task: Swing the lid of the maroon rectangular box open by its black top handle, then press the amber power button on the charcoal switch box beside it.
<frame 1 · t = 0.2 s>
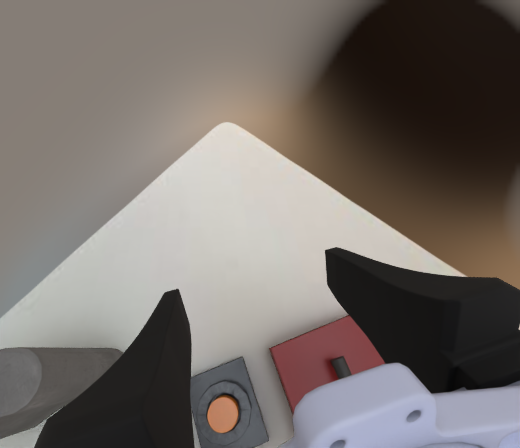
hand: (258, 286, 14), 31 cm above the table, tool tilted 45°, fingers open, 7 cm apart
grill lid: (347, 378, 34), point 6 cm above the table, hinge at 0.0°
switch box: (226, 407, 38), on the table
power button: (223, 413, 35), point 3 cm above the table, slide at 0.1 cm
flask: (71, 383, 39), on the table
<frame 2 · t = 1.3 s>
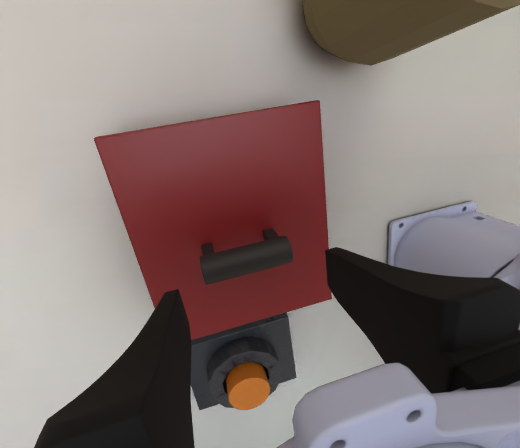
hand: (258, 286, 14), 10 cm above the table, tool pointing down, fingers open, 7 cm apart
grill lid: (241, 243, 17), point 6 cm above the table, hinge at 0.0°
squeeze bottle: (340, 7, 20), on the table
switch box: (240, 355, 29), on the table
power button: (247, 385, 25), point 3 cm above the table, slide at 0.1 cm
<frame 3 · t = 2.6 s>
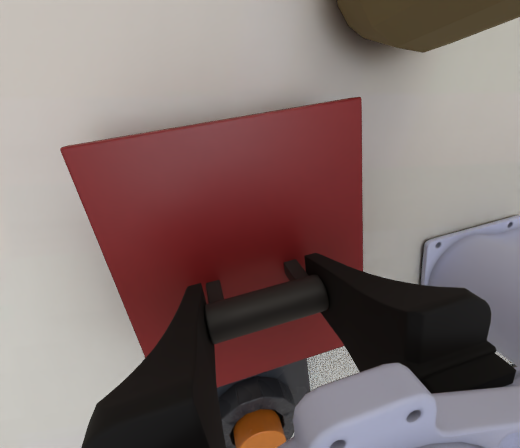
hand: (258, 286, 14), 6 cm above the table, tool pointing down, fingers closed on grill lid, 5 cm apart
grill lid: (257, 283, 13), point 6 cm above the table, hinge at 0.0°, touching gripper
switch box: (249, 394, 25), on the table
power button: (259, 436, 21), point 3 cm above the table, slide at 0.1 cm
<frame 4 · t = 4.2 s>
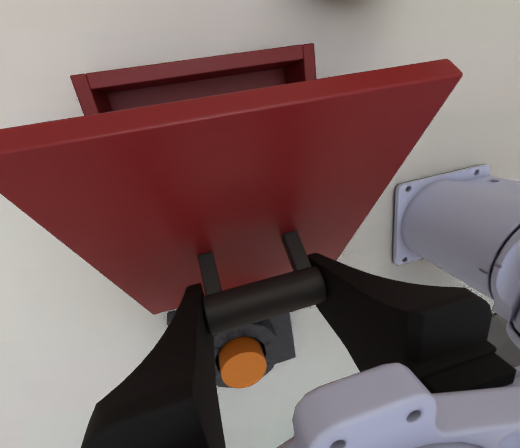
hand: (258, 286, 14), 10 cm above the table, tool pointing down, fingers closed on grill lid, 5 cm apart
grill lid: (256, 267, 13), point 10 cm above the table, hinge at 38.6°, touching gripper
switch box: (235, 332, 26), on the table
maroon rectangular box: (218, 172, 21), on the table
power button: (242, 362, 23), point 3 cm above the table, slide at 0.1 cm
coffeepot: (492, 334, 37), on the table
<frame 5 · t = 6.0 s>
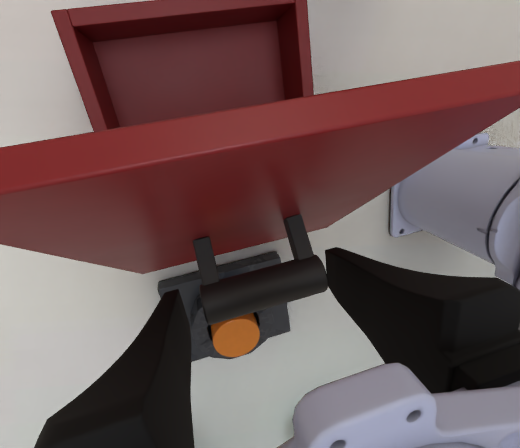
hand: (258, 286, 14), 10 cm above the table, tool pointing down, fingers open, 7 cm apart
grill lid: (256, 256, 12), point 11 cm above the table, hinge at 55.7°
switch box: (228, 304, 26), on the table
maroon rectangular box: (209, 133, 20), on the table
power button: (235, 330, 23), point 3 cm above the table, slide at 0.1 cm
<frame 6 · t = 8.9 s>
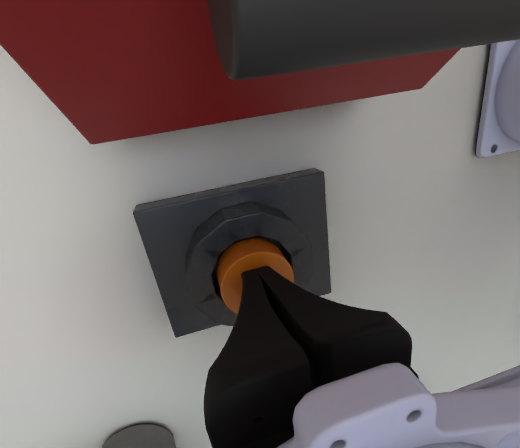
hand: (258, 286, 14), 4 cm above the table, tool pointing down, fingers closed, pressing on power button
switch box: (242, 249, 17), on the table
power button: (254, 276, 15), point 3 cm above the table, slide at -0.2 cm, touching gripper
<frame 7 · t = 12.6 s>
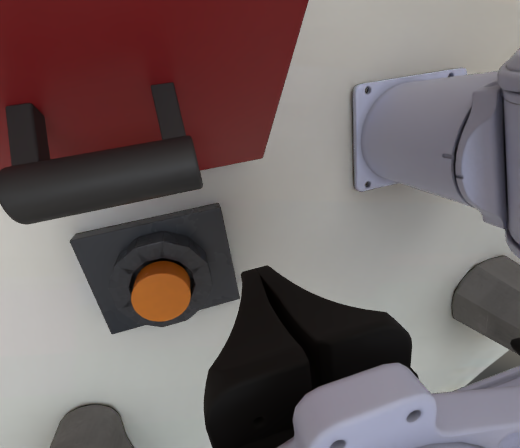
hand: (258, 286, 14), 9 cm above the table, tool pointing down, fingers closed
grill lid: (98, 131, 8), point 11 cm above the table, hinge at 55.7°
switch box: (165, 265, 22), on the table
power button: (162, 290, 19), point 3 cm above the table, slide at 0.1 cm
coffeepot: (475, 290, 33), on the table
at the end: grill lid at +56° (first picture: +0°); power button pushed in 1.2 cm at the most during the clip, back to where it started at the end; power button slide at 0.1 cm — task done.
